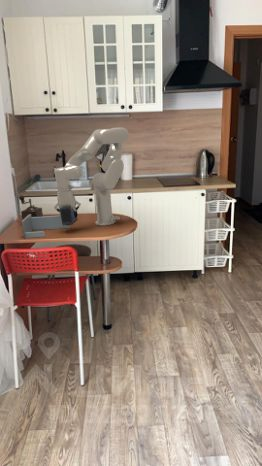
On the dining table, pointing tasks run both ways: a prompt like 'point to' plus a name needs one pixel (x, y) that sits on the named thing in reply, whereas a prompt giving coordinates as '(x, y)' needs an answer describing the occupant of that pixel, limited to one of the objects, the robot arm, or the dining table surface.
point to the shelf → (40, 225)
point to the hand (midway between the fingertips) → (69, 218)
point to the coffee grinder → (30, 209)
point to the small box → (67, 216)
